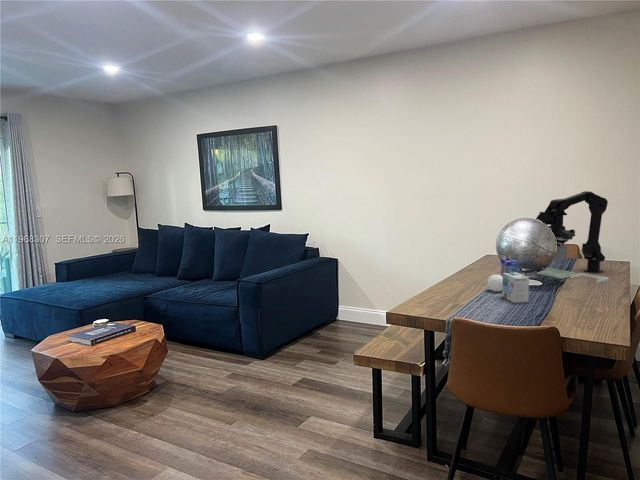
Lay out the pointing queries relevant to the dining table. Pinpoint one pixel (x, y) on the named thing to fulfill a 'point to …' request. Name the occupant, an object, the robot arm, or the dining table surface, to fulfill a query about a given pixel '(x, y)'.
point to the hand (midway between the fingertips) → (555, 253)
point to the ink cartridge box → (508, 265)
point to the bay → (602, 279)
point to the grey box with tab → (561, 252)
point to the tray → (555, 273)
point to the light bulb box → (515, 287)
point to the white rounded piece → (495, 283)
